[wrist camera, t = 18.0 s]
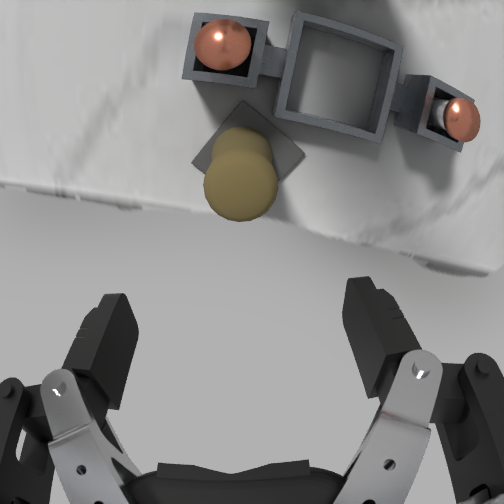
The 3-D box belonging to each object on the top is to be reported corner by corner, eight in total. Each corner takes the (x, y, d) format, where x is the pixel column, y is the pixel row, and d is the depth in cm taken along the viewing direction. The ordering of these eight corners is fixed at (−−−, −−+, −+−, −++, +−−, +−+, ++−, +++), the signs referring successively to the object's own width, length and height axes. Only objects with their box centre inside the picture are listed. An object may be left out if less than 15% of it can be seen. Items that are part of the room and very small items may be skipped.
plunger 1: (197, 57, 24) (182, 49, 18) (225, 26, 22) (219, 9, 16) (230, 81, 25) (225, 80, 19) (258, 51, 24) (262, 40, 18)
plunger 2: (404, 107, 26) (441, 117, 20) (426, 84, 24) (466, 90, 18) (425, 134, 27) (463, 150, 21) (446, 112, 26) (486, 124, 20)
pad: (191, 161, 30) (191, 162, 29) (242, 100, 27) (242, 100, 26) (252, 207, 33) (252, 209, 32) (303, 151, 30) (304, 153, 29)
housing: (188, 102, 27) (177, 105, 22) (206, 3, 21) (199, -11, 17) (430, 159, 30) (454, 172, 25) (451, 77, 24) (478, 80, 20)
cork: (278, 176, 30) (294, 223, 21) (220, 190, 31) (210, 243, 22) (264, 119, 27) (275, 138, 18) (203, 135, 28) (182, 163, 19)
